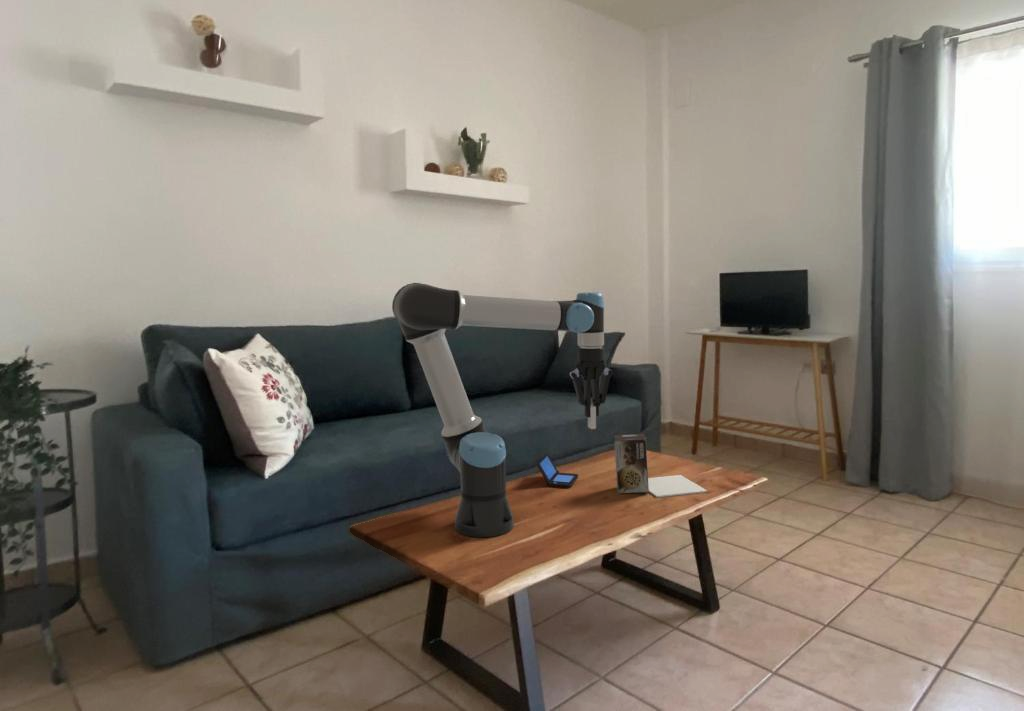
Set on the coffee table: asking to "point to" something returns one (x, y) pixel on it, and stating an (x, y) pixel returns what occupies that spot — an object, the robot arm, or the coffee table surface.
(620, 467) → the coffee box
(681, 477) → the felt mat
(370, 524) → the coffee table surface
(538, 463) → the handheld game console
